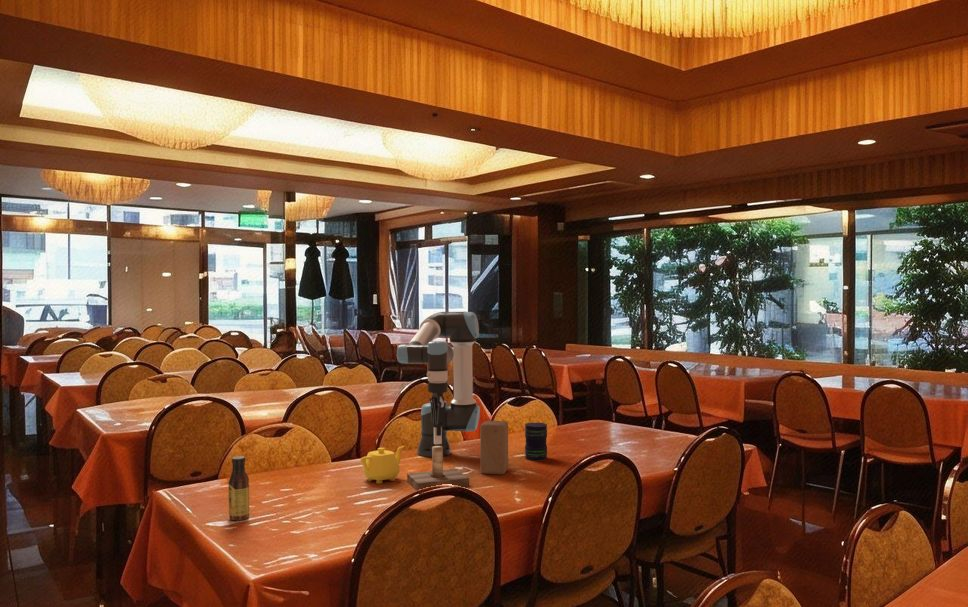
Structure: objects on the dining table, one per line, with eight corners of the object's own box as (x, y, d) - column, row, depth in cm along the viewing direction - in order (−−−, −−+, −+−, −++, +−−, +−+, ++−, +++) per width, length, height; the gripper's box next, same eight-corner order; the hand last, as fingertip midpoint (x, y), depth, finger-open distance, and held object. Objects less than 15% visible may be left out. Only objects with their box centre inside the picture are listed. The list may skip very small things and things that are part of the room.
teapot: (413, 478, 271) (413, 446, 271) (371, 487, 258) (371, 454, 258) (393, 472, 281) (393, 441, 281) (351, 480, 268) (351, 449, 268)
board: (407, 481, 266) (407, 473, 266) (456, 476, 274) (456, 468, 274) (417, 491, 252) (417, 483, 252) (469, 486, 260) (469, 478, 260)
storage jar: (521, 459, 302) (521, 425, 302) (528, 455, 311) (528, 421, 311) (543, 461, 298) (543, 427, 298) (550, 456, 307) (550, 423, 307)
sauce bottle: (231, 515, 225) (231, 454, 225) (251, 515, 225) (251, 454, 225) (226, 522, 218) (225, 459, 218) (246, 521, 219) (246, 458, 219)
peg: (430, 483, 264) (430, 446, 264) (441, 481, 266) (441, 445, 266) (433, 485, 260) (433, 448, 260) (444, 484, 262) (444, 447, 262)
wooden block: (504, 475, 275) (504, 425, 275) (479, 474, 277) (479, 424, 277) (508, 469, 285) (508, 420, 285) (484, 468, 287) (484, 420, 287)
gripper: (423, 380, 267) (423, 441, 268) (433, 384, 255) (433, 447, 255) (441, 379, 270) (441, 439, 270) (452, 383, 258) (452, 446, 258)
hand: (437, 443), depth 263 cm, fingers closed
